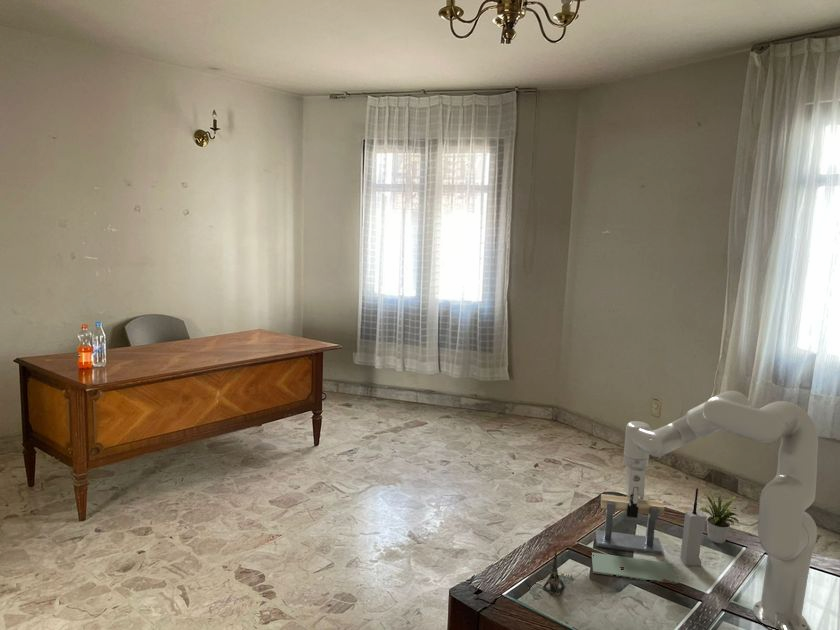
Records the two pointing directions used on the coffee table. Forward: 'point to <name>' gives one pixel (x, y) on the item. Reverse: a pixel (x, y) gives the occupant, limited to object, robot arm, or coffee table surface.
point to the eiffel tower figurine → (551, 582)
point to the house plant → (719, 519)
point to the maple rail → (624, 501)
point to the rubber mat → (632, 567)
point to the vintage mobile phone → (692, 535)
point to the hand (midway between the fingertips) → (631, 512)
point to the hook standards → (629, 535)
